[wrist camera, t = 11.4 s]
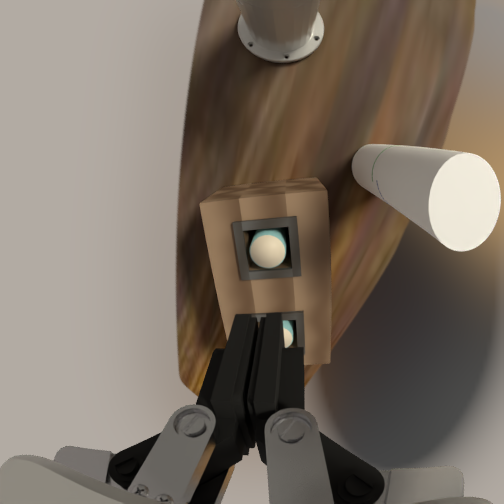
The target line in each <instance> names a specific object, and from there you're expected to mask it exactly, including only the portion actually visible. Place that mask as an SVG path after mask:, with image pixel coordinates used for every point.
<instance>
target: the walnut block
mask: <svg viewBox="0 0 504 504" xmlns="http://www.w3.org/2000/svg"><path fill="white" fill-rule="evenodd" d="M199 204H200V210H201V215H202V221H203V226H204V232H205V237H206V242H207V247H208V253H209V258H210V263H211V268H212V273H213V278H214V282H215V287H216V292H217V297H218V301H219V306H220V311H221V315H222V320H223V324H224V329H225V333H226V337H227V341H228V337H229V334H230V331H231V327H232V324H233V320H234V317H235V314H251V315H252V317H257V320H258V327H259V325H260V319H261V317H266V313H277V312H282V318H283V321H285V320H293V342H292V344H291V345H290V346H289V347H287V348H294V347H304V365H313V364H326V363H330V350H331V249H330V226H329V209H328V194H327V190H326V188H325V187H324V186H323V185H322V183H321V182H320V181H319V180H318V179H317V177H314V178H301V179H290V180H279V181H269V182H260V183H251V184H242V185H234V186H226V187H222V188H221V189H219V190H218V191H216V192H215V193H213V194H212V195H211V196H209V197H208V198H206V199H205V200H204V201H202V202H201V203H199ZM279 227H289V235H286V255H285V258H284V260H283V262H282V263H281V264H280V265H278V266H276V267H274V268H263V267H260V266H258V265H257V264H255V263H254V261H253V260H252V258H251V256H250V245H251V243H252V240H253V237H254V234H255V232H256V230H257V229H268V228H279Z"/></svg>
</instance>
